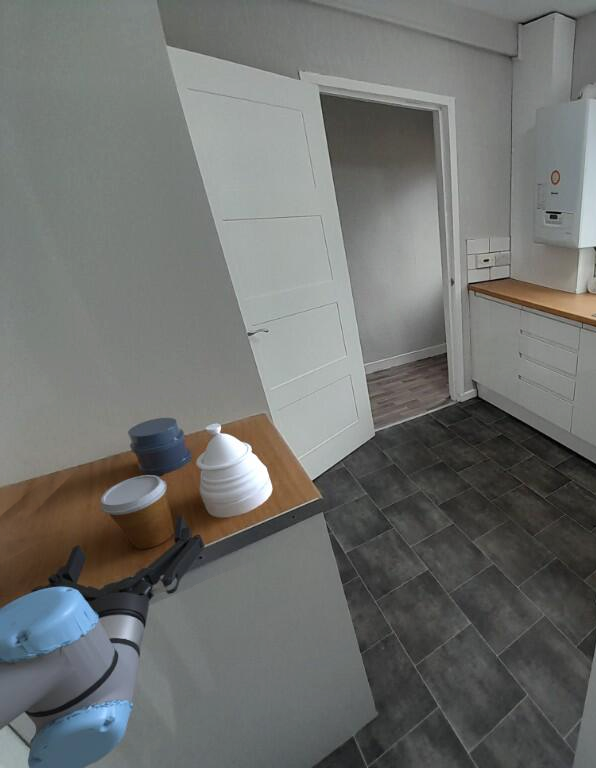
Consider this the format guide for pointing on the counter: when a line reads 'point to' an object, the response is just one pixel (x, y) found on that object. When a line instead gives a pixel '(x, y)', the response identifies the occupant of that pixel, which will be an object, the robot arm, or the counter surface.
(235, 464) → the honey pot
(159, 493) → the disposable coffee cup
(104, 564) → the counter surface
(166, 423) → the cup stack
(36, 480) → the counter surface
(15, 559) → the counter surface
